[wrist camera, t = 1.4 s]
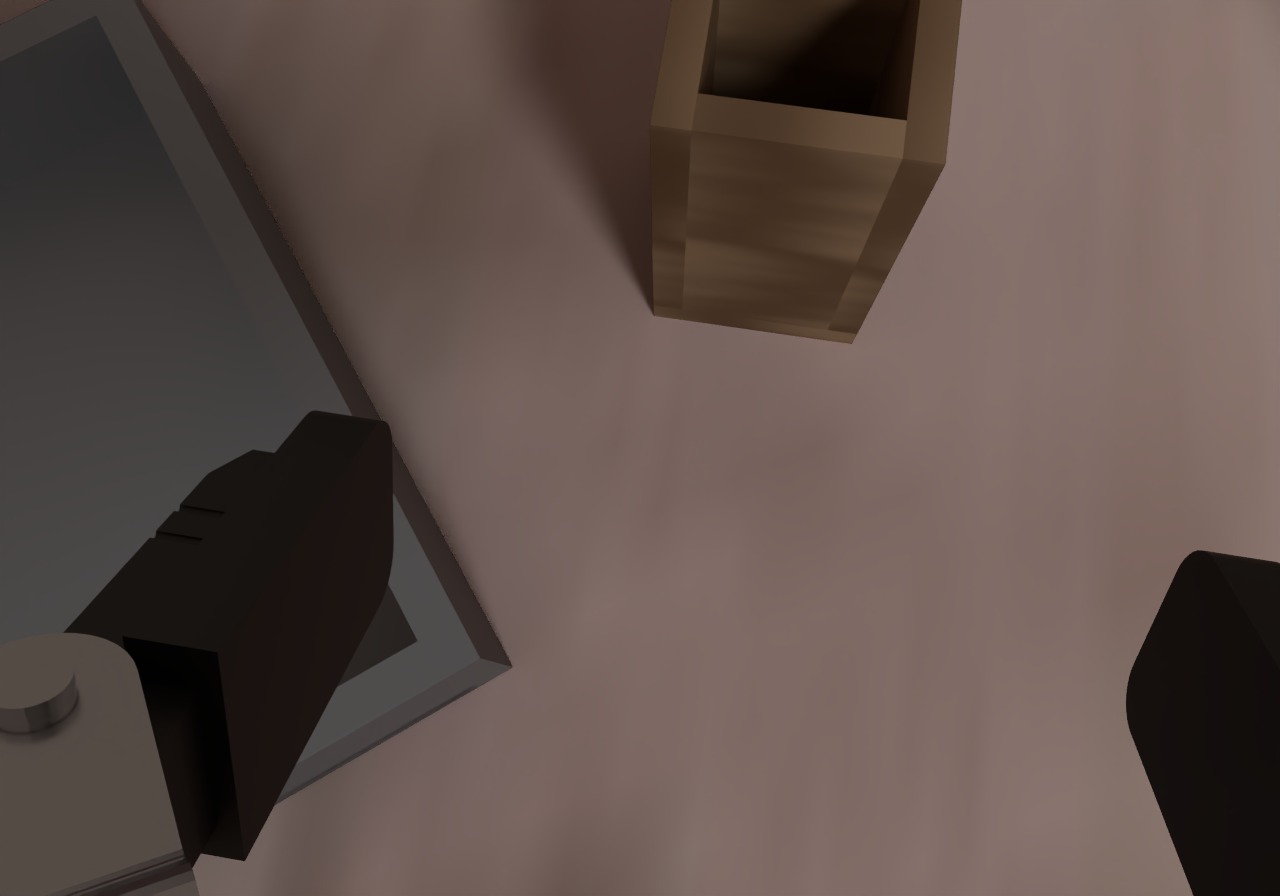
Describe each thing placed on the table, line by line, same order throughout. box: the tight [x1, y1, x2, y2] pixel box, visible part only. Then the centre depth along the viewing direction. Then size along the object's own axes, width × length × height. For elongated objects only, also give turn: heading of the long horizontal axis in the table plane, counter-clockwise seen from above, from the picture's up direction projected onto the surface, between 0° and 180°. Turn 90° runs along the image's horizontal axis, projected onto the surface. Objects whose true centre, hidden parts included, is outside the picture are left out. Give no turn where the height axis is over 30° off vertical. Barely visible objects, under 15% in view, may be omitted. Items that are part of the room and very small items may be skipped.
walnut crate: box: [650, 0, 962, 344], centre depth 25 cm, size 6×6×10 cm
